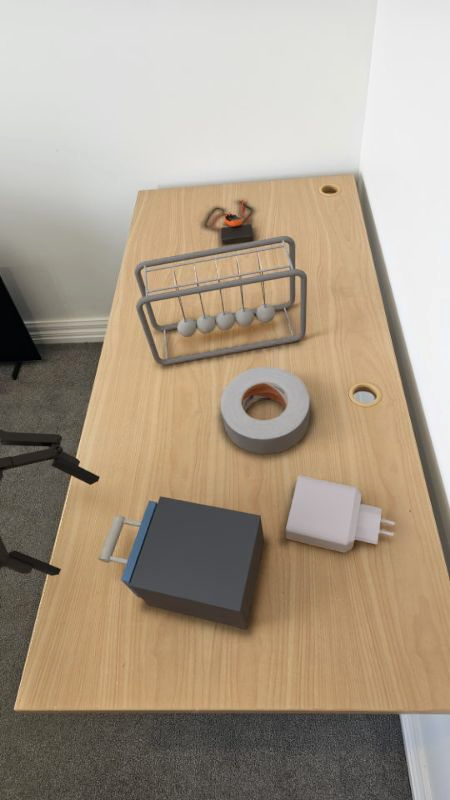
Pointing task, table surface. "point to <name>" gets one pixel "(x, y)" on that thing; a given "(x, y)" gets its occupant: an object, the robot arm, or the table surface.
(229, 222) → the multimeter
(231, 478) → the table surface
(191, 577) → the cabinet
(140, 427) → the table surface
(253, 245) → the newton's cradle
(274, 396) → the tape roll
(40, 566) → the robot arm
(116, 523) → the drawer
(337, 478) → the table surface
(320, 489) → the charger
